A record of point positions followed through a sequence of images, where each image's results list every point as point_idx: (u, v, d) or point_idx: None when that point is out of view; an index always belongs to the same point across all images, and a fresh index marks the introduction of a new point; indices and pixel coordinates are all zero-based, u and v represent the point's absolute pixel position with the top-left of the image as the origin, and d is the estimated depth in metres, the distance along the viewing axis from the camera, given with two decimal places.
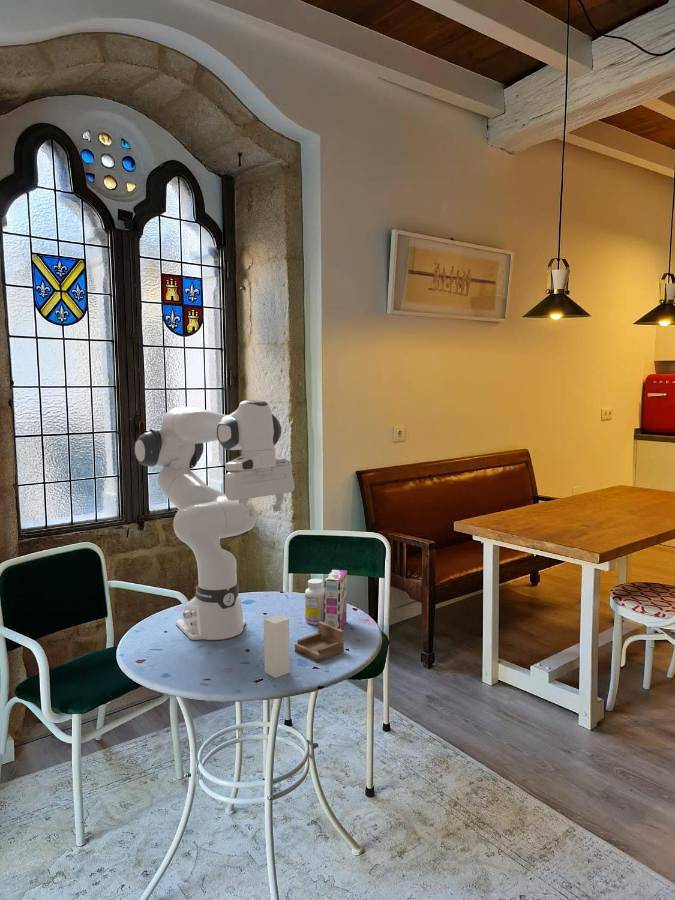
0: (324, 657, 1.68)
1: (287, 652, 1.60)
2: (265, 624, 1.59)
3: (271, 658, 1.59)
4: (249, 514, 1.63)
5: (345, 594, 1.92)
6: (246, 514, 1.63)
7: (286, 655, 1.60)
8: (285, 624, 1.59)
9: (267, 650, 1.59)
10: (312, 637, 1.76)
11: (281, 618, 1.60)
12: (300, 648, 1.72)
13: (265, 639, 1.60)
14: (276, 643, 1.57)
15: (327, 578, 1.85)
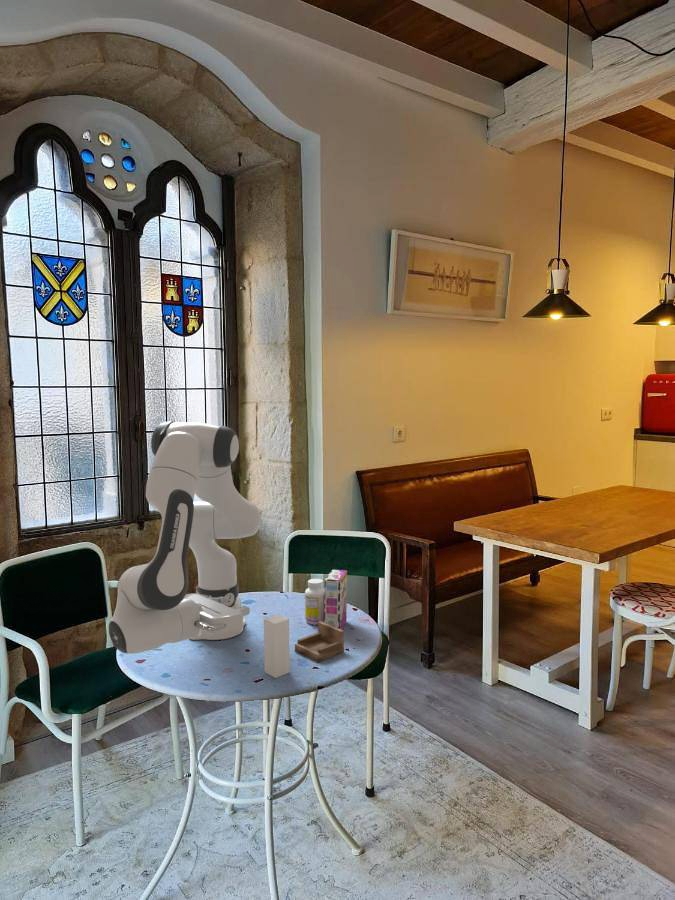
0: (324, 657, 1.68)
1: (287, 652, 1.60)
2: (265, 624, 1.59)
3: (271, 658, 1.59)
4: None
5: (345, 594, 1.92)
6: None
7: (286, 655, 1.60)
8: (285, 624, 1.59)
9: (267, 650, 1.59)
10: (312, 637, 1.76)
11: (281, 618, 1.60)
12: (300, 648, 1.72)
13: (265, 639, 1.60)
14: (276, 643, 1.57)
15: (327, 578, 1.85)
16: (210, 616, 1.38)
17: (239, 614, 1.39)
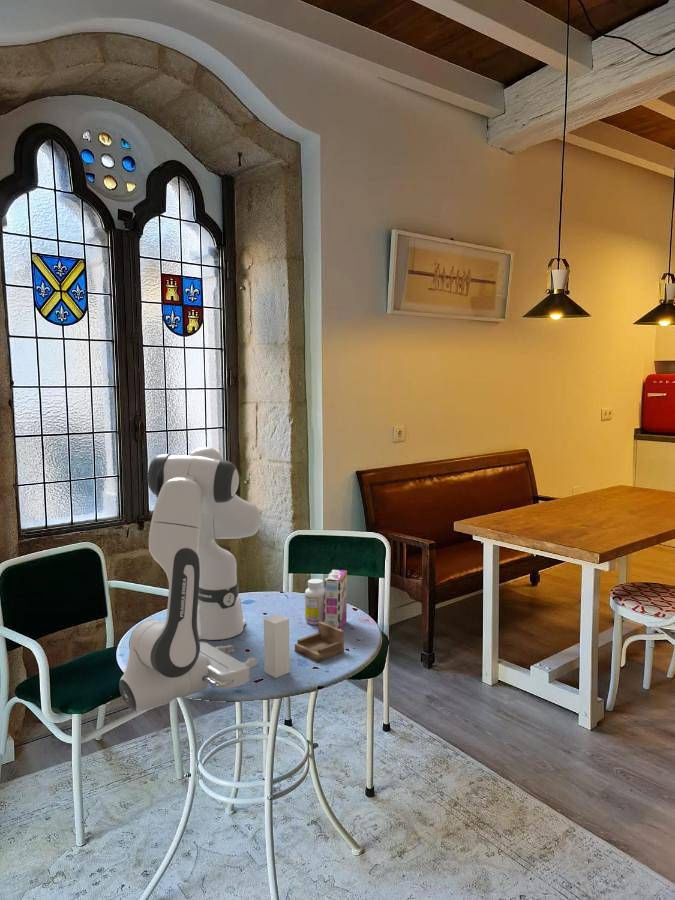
0: (324, 657, 1.68)
1: (287, 652, 1.60)
2: (265, 624, 1.59)
3: (271, 658, 1.59)
4: None
5: (345, 594, 1.92)
6: None
7: (286, 655, 1.60)
8: (285, 624, 1.59)
9: (267, 650, 1.59)
10: (312, 637, 1.76)
11: (281, 618, 1.60)
12: (300, 648, 1.72)
13: (265, 639, 1.60)
14: (276, 643, 1.57)
15: (327, 578, 1.85)
16: (218, 672, 1.40)
17: (246, 669, 1.42)
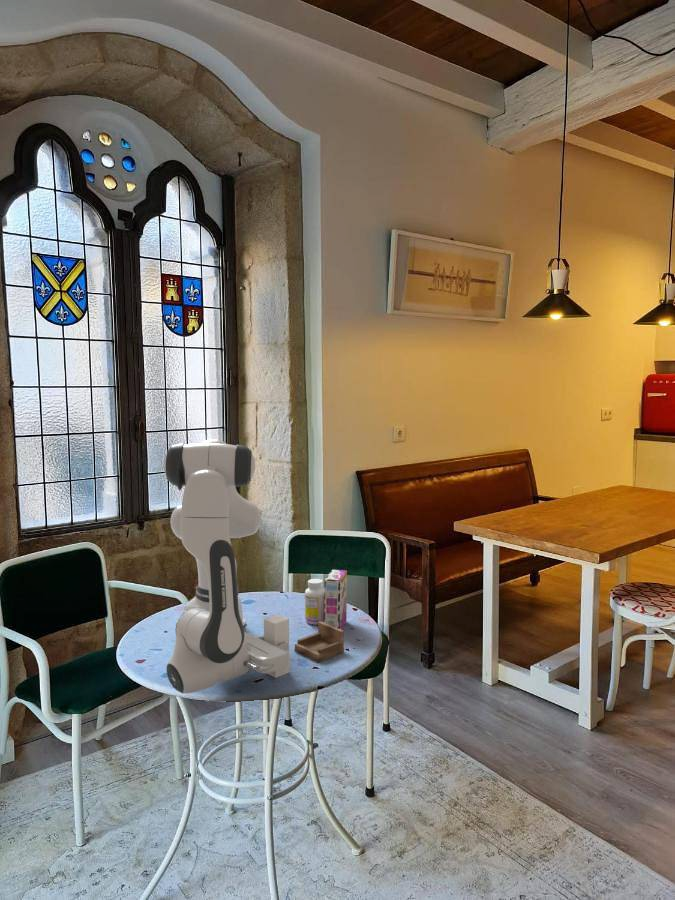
0: (324, 657, 1.68)
1: (287, 652, 1.60)
2: (265, 624, 1.59)
3: None
4: None
5: (345, 594, 1.92)
6: None
7: None
8: (285, 624, 1.59)
9: None
10: (312, 637, 1.76)
11: (281, 618, 1.60)
12: (300, 648, 1.72)
13: (265, 639, 1.60)
14: (276, 643, 1.57)
15: (327, 578, 1.85)
16: (259, 657, 1.48)
17: (285, 654, 1.50)
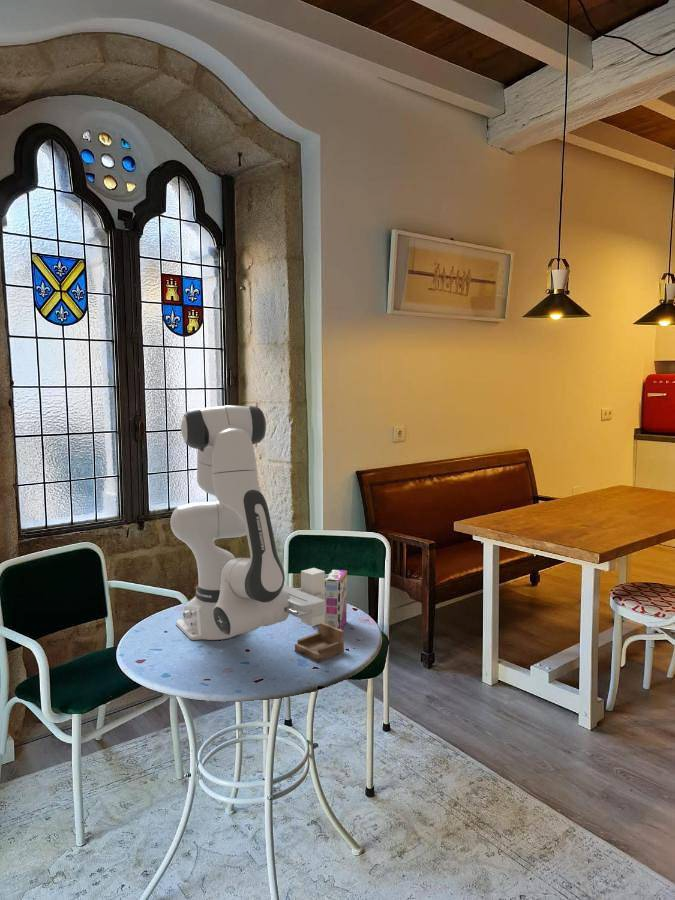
0: (324, 657, 1.68)
1: None
2: (302, 576, 1.69)
3: None
4: None
5: (345, 594, 1.92)
6: None
7: None
8: (321, 576, 1.68)
9: None
10: (312, 637, 1.76)
11: (317, 570, 1.69)
12: (300, 648, 1.72)
13: (302, 590, 1.69)
14: (313, 593, 1.67)
15: (327, 578, 1.85)
16: (299, 603, 1.57)
17: (323, 601, 1.59)
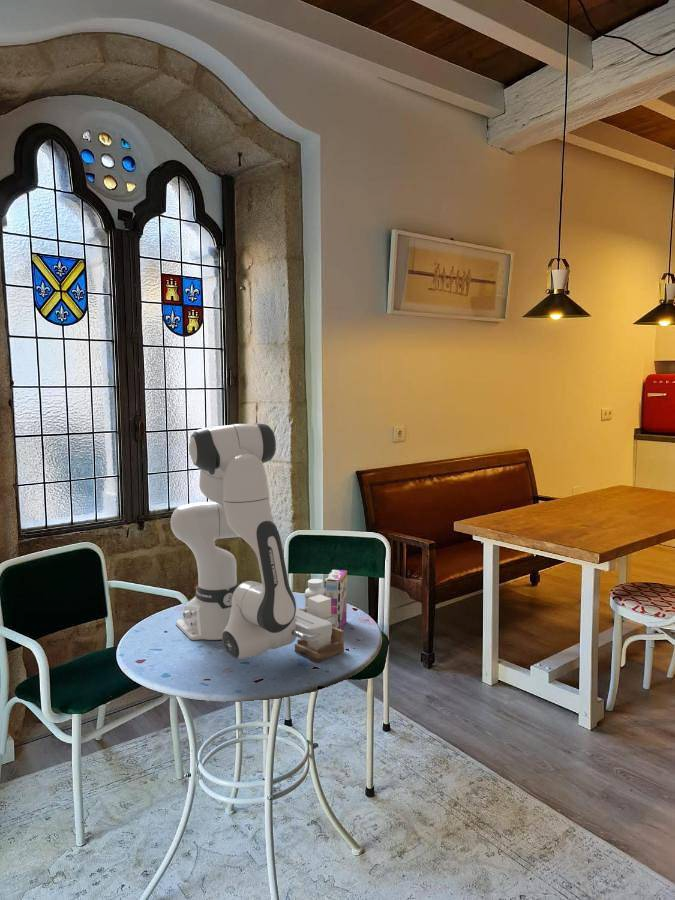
0: (324, 657, 1.68)
1: None
2: (309, 603, 1.71)
3: None
4: None
5: (345, 594, 1.92)
6: None
7: None
8: (328, 603, 1.71)
9: None
10: None
11: (324, 598, 1.72)
12: (300, 648, 1.72)
13: None
14: None
15: (327, 578, 1.85)
16: (306, 626, 1.60)
17: (329, 624, 1.62)
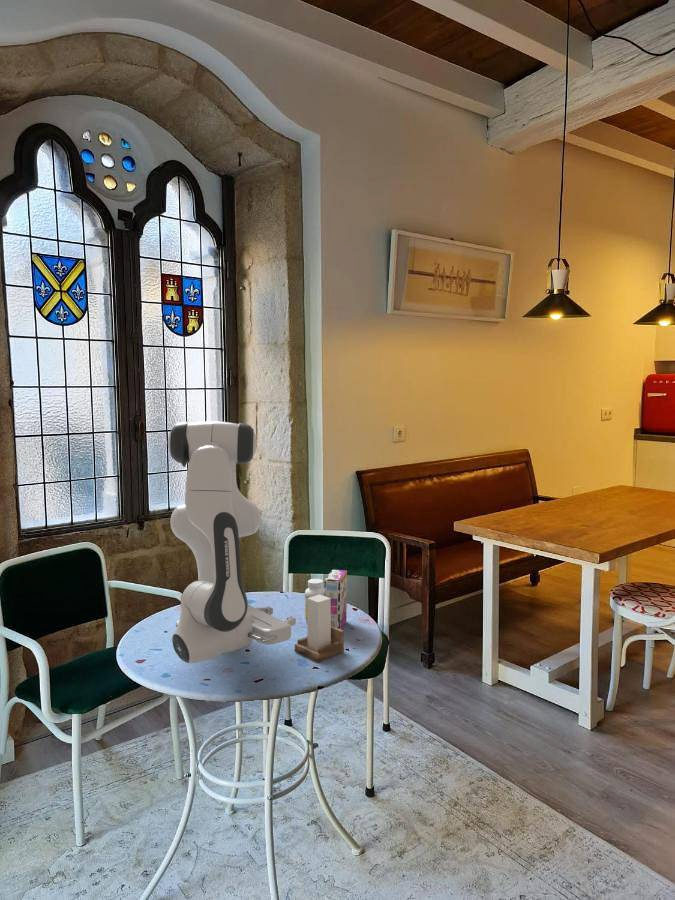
0: (324, 657, 1.68)
1: (328, 629, 1.72)
2: (308, 603, 1.72)
3: (314, 634, 1.71)
4: None
5: (345, 594, 1.92)
6: None
7: (328, 632, 1.72)
8: (327, 603, 1.71)
9: (310, 627, 1.72)
10: None
11: (323, 597, 1.72)
12: (300, 648, 1.72)
13: (308, 617, 1.72)
14: (319, 620, 1.69)
15: (327, 578, 1.85)
16: (263, 628, 1.51)
17: (288, 626, 1.53)
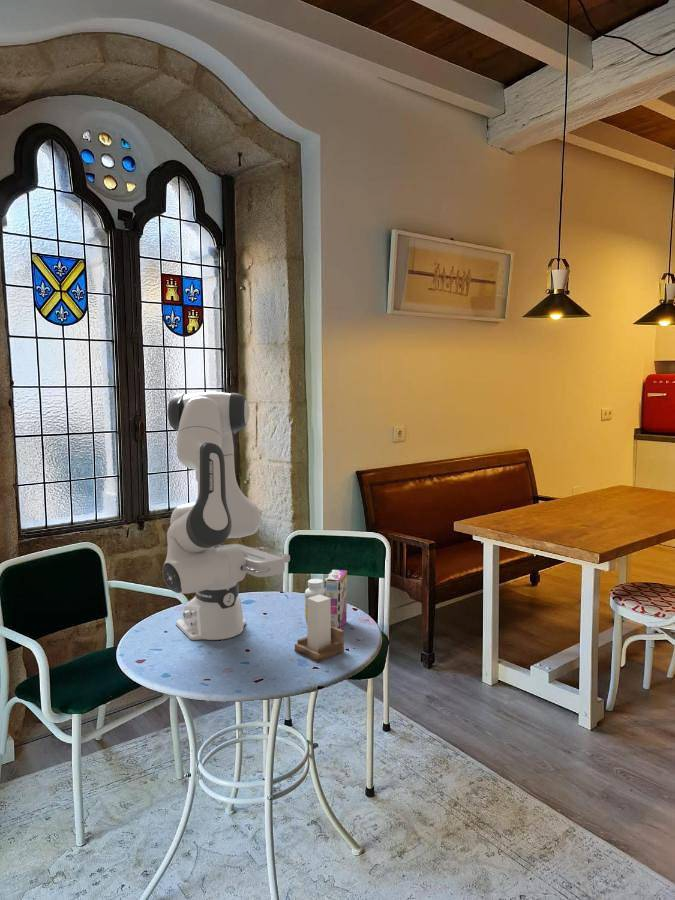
0: (324, 657, 1.68)
1: (328, 629, 1.72)
2: (308, 603, 1.72)
3: (314, 634, 1.71)
4: None
5: (345, 594, 1.92)
6: None
7: (328, 632, 1.72)
8: (327, 603, 1.71)
9: (310, 627, 1.72)
10: None
11: (323, 597, 1.72)
12: (300, 648, 1.72)
13: (308, 617, 1.72)
14: (319, 620, 1.69)
15: (327, 578, 1.85)
16: (256, 561, 1.48)
17: (282, 559, 1.49)
